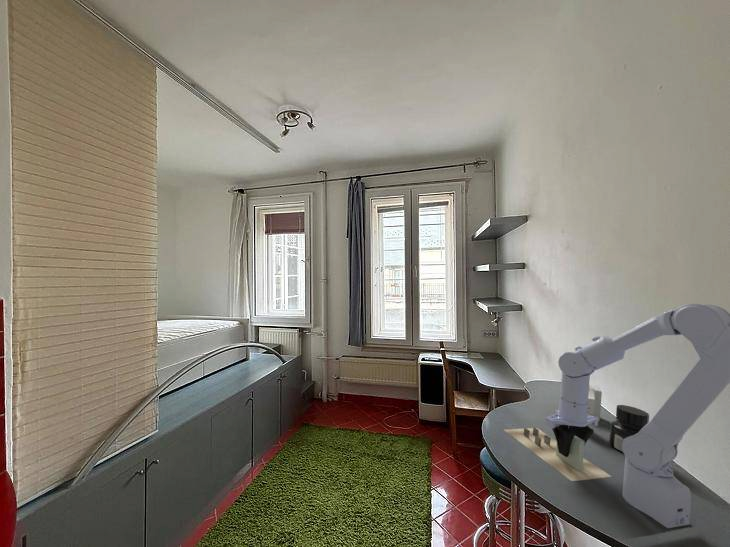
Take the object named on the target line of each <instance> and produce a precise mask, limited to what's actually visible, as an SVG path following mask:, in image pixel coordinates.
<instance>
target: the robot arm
mask: <svg viewBox="0 0 730 547" xmlns="http://www.w3.org/2000/svg"><path fill="white" fill-rule="evenodd" d="M678 335H679V336H681V335H682V336H683V337H684V338H686V339H687V340H688V341H689V342H690V343H691V345H692V347H693V348H694V350H695V352H696V353H697V355H698V357H699V360H698V361H697V363H696V364H695V365H693V367H692V368H691V370H690V371H689V372H688V374H686V376H685V377H684V378H683V379H682V381H681V383H680V384H678V386H677V387H676V389H675V390H673V393H672V394H671V395H670V396H669V397H668V398H667V400H666V401H665V402H664V403H663V405H662V406H661V407H660V409H659V410H658V411H657V412H656V413H655V415H653V417H652V418H651V420H649V423H647V424H646V425H645V426H644V427H643V428H642V429H641V430H640V431H639V432H638V433H637V434H635V435H633V436H629V437H627V438H625V439H624V441H623V443H622V450H623V453H624V454H623V456H625V458H624V469H623V470H624V471H623V472H624V473H623V480H622V482H623V483H622V484H623V485H622V498H623V499H624V500H625V502H626V503H628V504H629V505H630V506H632V507H633V508H635V509H637V510H638V511H640V512H642V513H643V514H646V515H647V516H649V517H650V518H652V519H653V520H655V521H656V522H657V523H660V524H661V525H662V526H664V527H665V528H667V529H672V528H678V527H682V526H689V525H690V522H691V508H692V493H691V489H690V488H689V487H688V486H687V485H685V484H683V482H681V481H679V480H678V479H677V477H675V475H674V470H673V467H672V464H671V463H670V462H671V461H673V460H675V459H676V457H677V456H678V453H679V452H678V447H679V444H680V442H682V440H683V437H684V436H685V435H686V433H687V432H688V431H689V430H690V429H691V427H692V426H693V425H694V424H695V423H696V422H697V421H698V420H699V418H700V417H701V416H702V415H703V414H704V413H705V411H707V409H708V408H709V407H710V406H711V405H712V403H713V402H715V401H716V399H717V398H718V397H719V395H720V394H721V393H722V392H723V391H724V389H726V387H727V386H729V384H730V312H729V311H727V310H726V309H724V308H722V307H720V306H717V305H712V304H699V303H689V304H684V305H681V306H680V307H678V308H677V309H676V310H673V309H672V310H669V311H666V312H662V313H660V314H659V315H656V316H654V317H652V318H650V319H648V320H646V321H644V322H642V323H641V324H637V326H635V327H633V328H631V329H629V330H627V331H625V332H623V333H621V334H620V335H618V336H616V337H610V336H609V337H608V336H604V335H603V336H601V337H600V336H595V337H593V338H592V339H591V340H592V342H589V343H588V344H587V343H586V345H584V346H576V347H575V348H574V350H575V351H574V352H571V351H567V352H564V353H563V354H562V355H560V357H559V358H558V367H559V369H560V371H561V381H560V382H561V383H560V392H559V404H558V405H559V407H558V409H557V410H555V414H552V415H550V416H545V422H544V424H545V426H547V427H548V428H551V429H552V432H553V434H554V436H555V440H556V441H557V445H558V451H559V453H560V454H562V455H563V456H565V457H568V456H569V452H570V446H571V442H572V440H573V438H574V436H577V437H578V438H580V439H582V440H584V441H585V445H584V447H585V446H586V444H587V442H588V440H589V439H590V438H591V437H593V436H592V435H594V434H595V433H594V432H595V431H594V428H593V429H591V428H589V427H588V425H593V427H597V426H599V421H598V418H597V417H594V416H592V415H587V408H588V395H589V385H590V381H591V380H590V379H591V375H592V374H594V373H595V371H597V370H600V369H602V368H604V367H607V366H610V365H612V364H614V363H616V362H619V361H621V360H623V359H624V358H625V353H626V351H628V350H630V349H633V348H635V347H637V346H641V345H642V344H645V343H649V342H650V341H653V340H655V339H657V338H660V337H663V336H678ZM691 528H692V526H689V527H683V528H679V529H673V530H668V531H666V533H670V532H676V531H681V530H686V529H691Z"/></svg>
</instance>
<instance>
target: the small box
mask: <svg viewBox="0 0 730 547" xmlns="http://www.w3.org/2000/svg"><path fill="white" fill-rule="evenodd" d="M589 385H590V386H591V387H592V388H594V389H595V411H594V417H597V418H598V422H600V421H601V409H602V408H601V407H602V397H603V396H602V393H603V392H602V390H601V388H600V387H599V386H596V385H591V384H589ZM589 391H590V389H589Z"/></svg>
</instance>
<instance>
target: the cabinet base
mask: <svg viewBox="0 0 730 547" xmlns="http://www.w3.org/2000/svg"><path fill="white" fill-rule="evenodd" d="M525 428H526V427H525ZM533 428H534V427H531V428H529V427H527V428H526V429H528V430H529V431H530V433H529V438H527V437H526V436H524V428H513V429H512V428H511V429H510V428H509V429H508V428H507V429H504V431H505V432H506V433H507V434H509V436H511V437H513V438H514V439H515V440H517V441H518V442H519V443H520V444H521V445H523V446H524V447H526V448H527V449H528V450H529V451H531V452H532V453H533V454H535V455H536V456H537V457H538V458H540V459H542V460H543V461H544V462H545V463H547V464H548V465H549V466H551V467H552V468H553V469H554V470H556V471H557V472H558V473H560V474H561V475H562V476H564V477H565V478H566V479H568V480H569V481H571V482H579V481H588V480H589V481H590V480H599V479H605V478H613V476H612V475H611V474H608V472H606V471H604V470H602V469H601V468H599V467H598V466H597V465H595V464H593V463H591V462H590V461H589V460H587V459H586V458H584V457H583V470H578V471H577V470H576V469H575V468H573V467H572V466H570V465H569V464H568V463H566V462H565V461H563V460H562V459H560V458H559V457H558V456H556V447H557V441H556V438H555V439H554V438H553V437H552V436H550V435H549V434H548V433H545V432H543V431H542V429H539V428H538V427H535V428H536V429H538V430H539V434H538V437H540V438H541V446H538V445H537V444H536V443H535V436H534V435H533ZM545 435H547V436H548V437H550V438H551V439H550V445H547V444H546V443H545V442H544V436H545Z"/></svg>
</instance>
